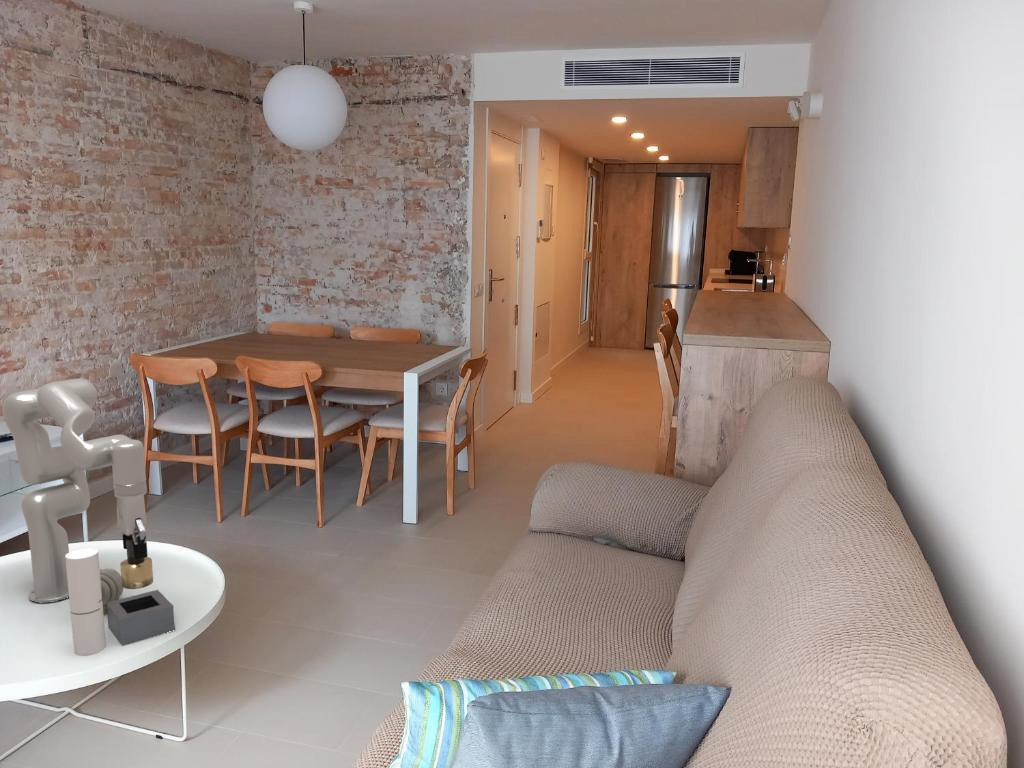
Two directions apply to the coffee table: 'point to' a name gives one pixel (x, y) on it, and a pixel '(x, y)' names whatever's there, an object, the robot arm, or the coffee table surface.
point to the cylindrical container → (85, 601)
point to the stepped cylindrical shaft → (135, 569)
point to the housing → (140, 617)
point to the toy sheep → (110, 586)
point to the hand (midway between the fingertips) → (135, 552)
